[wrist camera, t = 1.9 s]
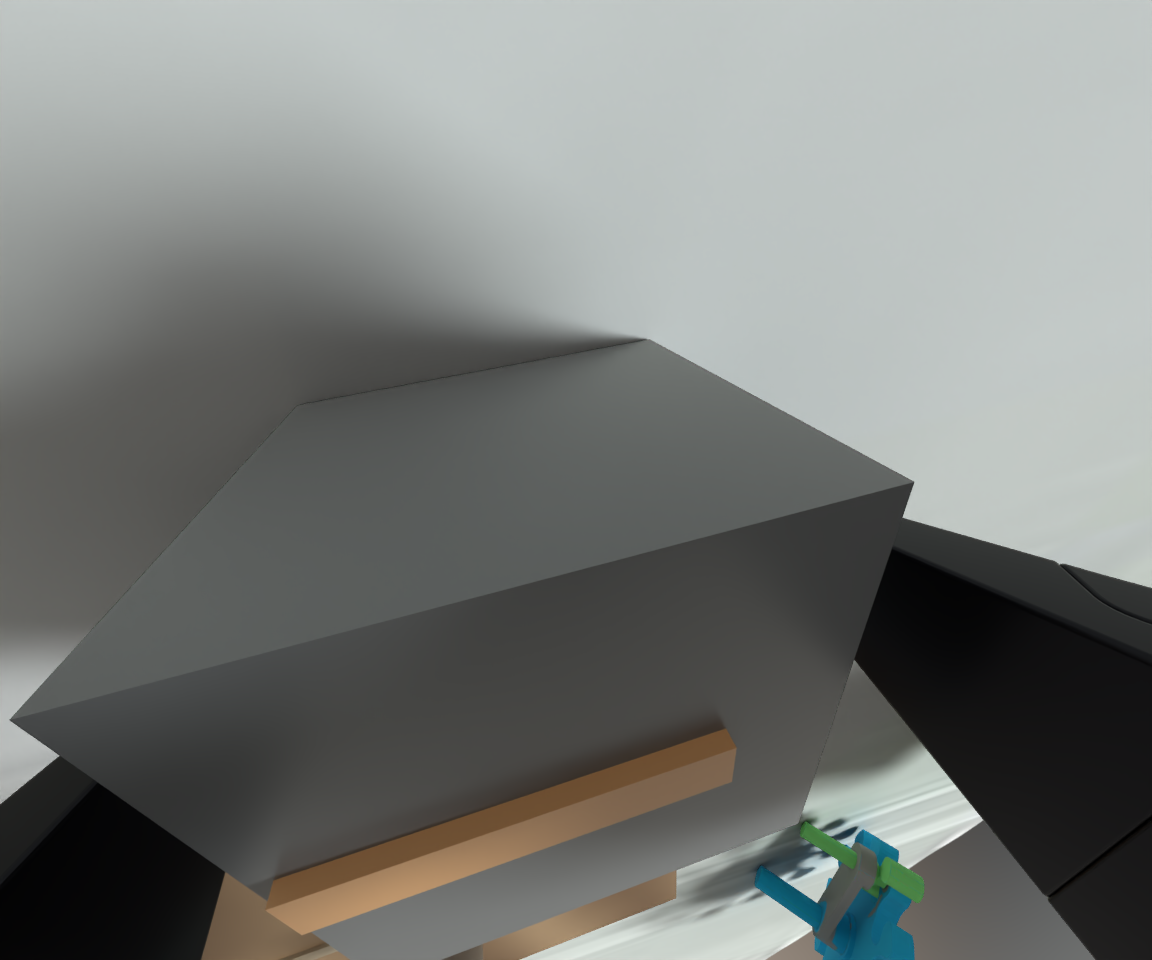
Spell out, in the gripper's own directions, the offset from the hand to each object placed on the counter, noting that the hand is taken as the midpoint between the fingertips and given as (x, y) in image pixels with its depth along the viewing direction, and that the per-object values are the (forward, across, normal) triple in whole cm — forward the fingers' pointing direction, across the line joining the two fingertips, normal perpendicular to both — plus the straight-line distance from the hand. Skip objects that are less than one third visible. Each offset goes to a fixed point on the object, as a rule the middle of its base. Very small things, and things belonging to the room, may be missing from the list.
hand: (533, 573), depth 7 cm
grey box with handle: (+2, 0, 0) cm, 2 cm away
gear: (+2, -12, +27) cm, 30 cm away
